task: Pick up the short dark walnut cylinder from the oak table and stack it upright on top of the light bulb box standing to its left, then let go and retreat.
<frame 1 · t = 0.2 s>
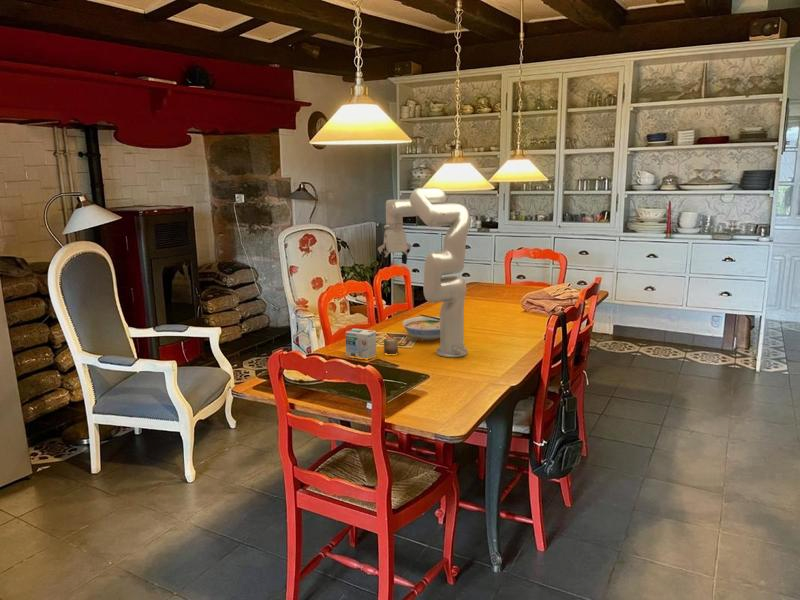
hand: (395, 264, 271), 31 cm above the table, tool pointing down, fingers open, 9 cm apart
walnut cylinder: (391, 353, 241), on the table
light bulb box: (361, 357, 237), on the table
ramen bowl: (428, 338, 262), on the table
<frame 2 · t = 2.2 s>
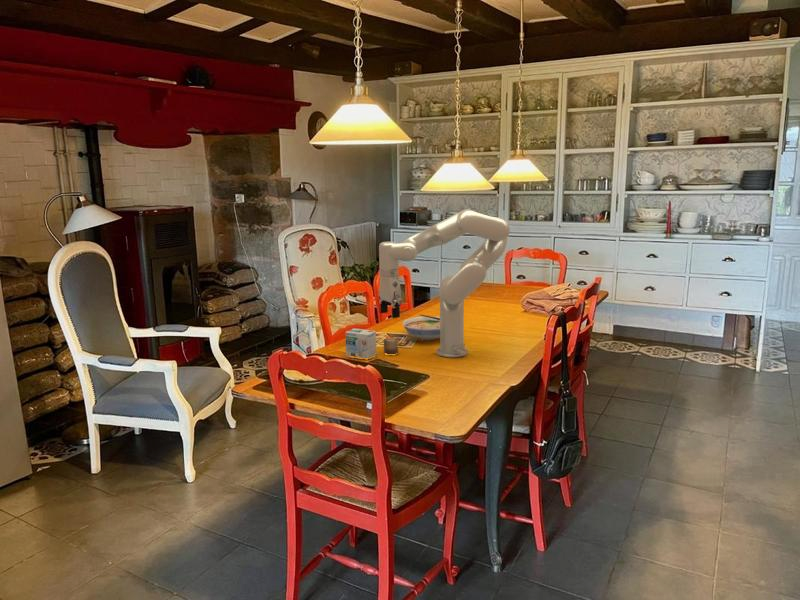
hand: (389, 315, 237), 16 cm above the table, tool pointing down, fingers open, 9 cm apart
nothing on the table moved.
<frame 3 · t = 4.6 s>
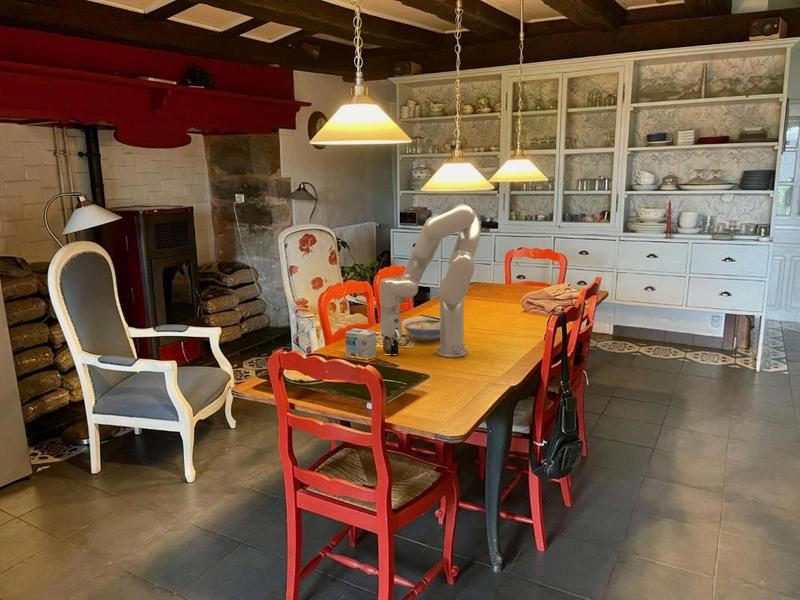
hand: (390, 351, 240), 1 cm above the table, tool pointing down, fingers closed on walnut cylinder, 5 cm apart
walnut cylinder: (390, 353, 241), on the table, touching gripper
everything else where it was.
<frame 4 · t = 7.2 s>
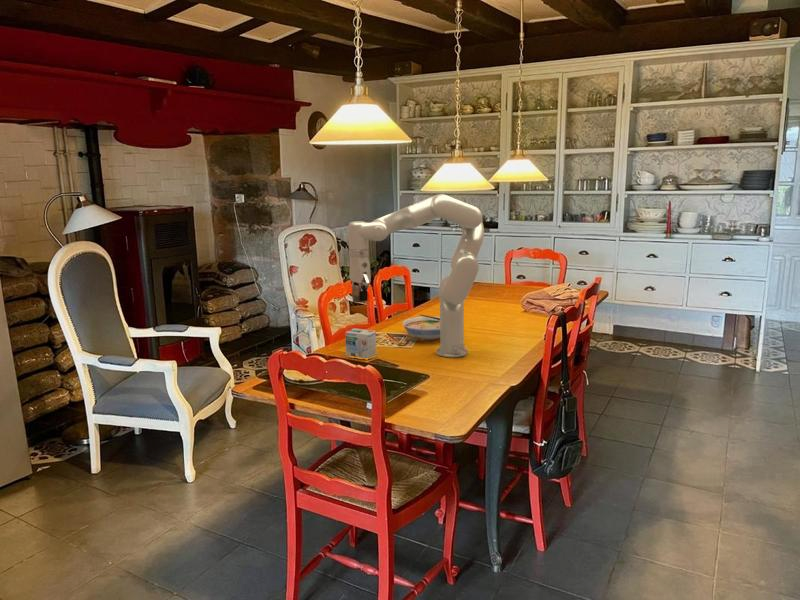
hand: (359, 298, 232), 24 cm above the table, tool pointing down, fingers closed on walnut cylinder, 5 cm apart
walnut cylinder: (359, 300, 233), point 23 cm above the table, touching gripper
everything else where it was.
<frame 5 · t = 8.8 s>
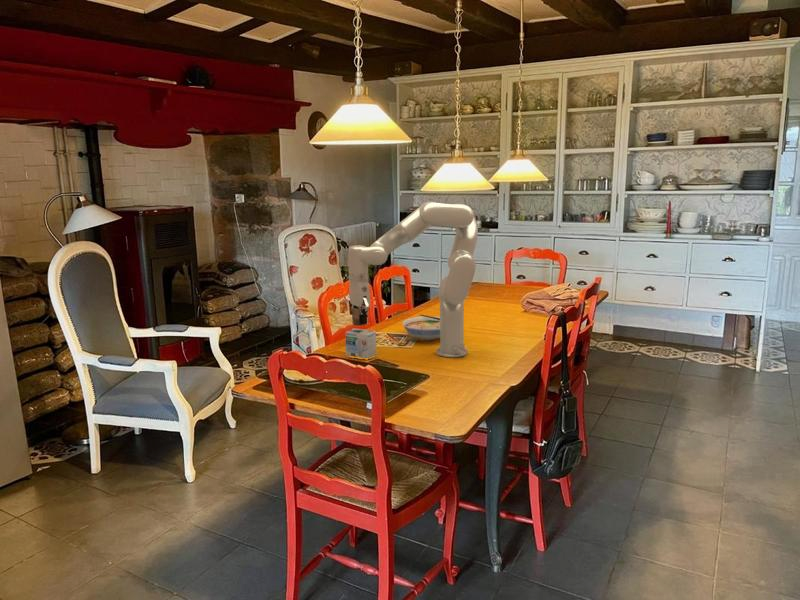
hand: (359, 321, 234), 15 cm above the table, tool pointing down, fingers closed on walnut cylinder, 5 cm apart
walnut cylinder: (359, 323, 234), point 14 cm above the table, touching gripper
everything else where it was.
when the fingers open (13 cm above the table, at t = 10.0 s): walnut cylinder drops 1 cm, resting on light bulb box.
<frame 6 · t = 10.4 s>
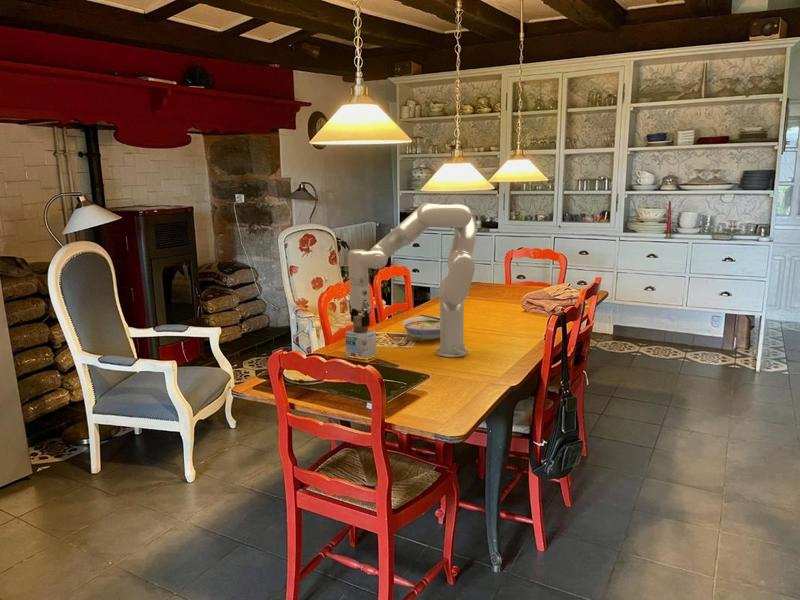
hand: (360, 323, 234), 14 cm above the table, tool pointing down, fingers open, 9 cm apart
walnut cylinder: (360, 331, 235), point 11 cm above the table, touching light bulb box
light bulb box: (361, 357, 237), on the table, touching walnut cylinder
everything else where it was.
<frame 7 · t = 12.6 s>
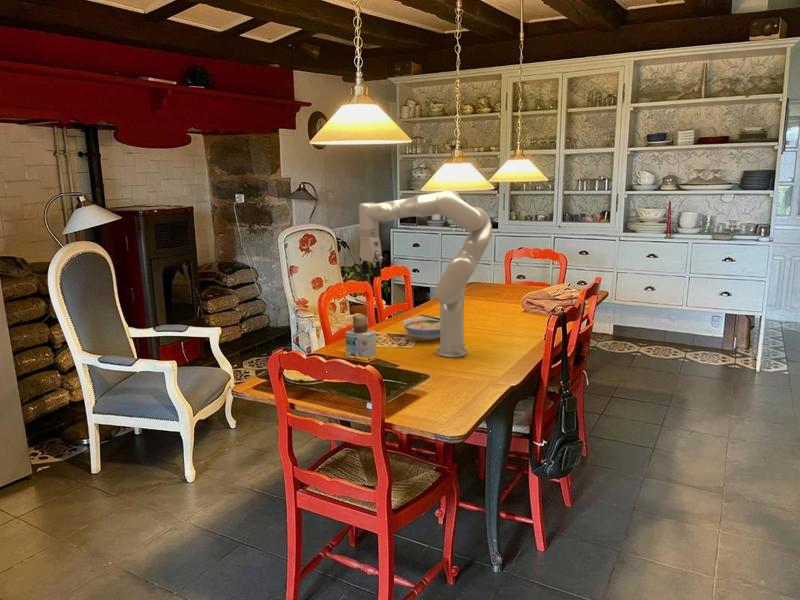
hand: (371, 275, 242), 31 cm above the table, tool pointing down, fingers open, 9 cm apart
nothing on the table moved.
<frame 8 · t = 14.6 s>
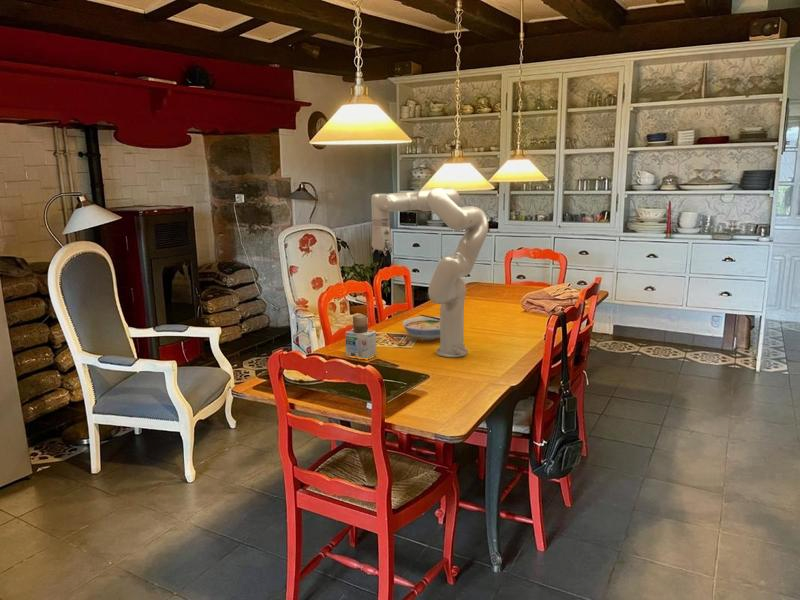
hand: (381, 263, 253), 34 cm above the table, tool pointing down, fingers open, 9 cm apart
nothing on the table moved.
at the end: walnut cylinder inside the target area on the light bulb box (0.1 cm from its centre), point 11.0 cm above the light bulb box's base; walnut cylinder tilted 0°; the gripper is holding nothing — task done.
